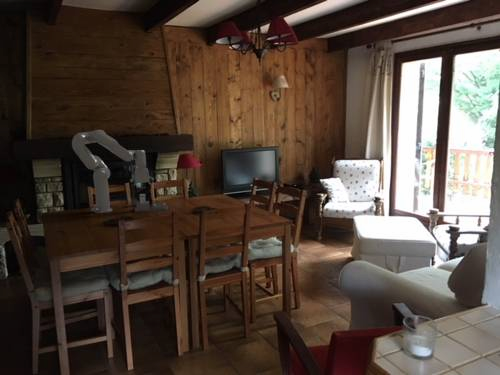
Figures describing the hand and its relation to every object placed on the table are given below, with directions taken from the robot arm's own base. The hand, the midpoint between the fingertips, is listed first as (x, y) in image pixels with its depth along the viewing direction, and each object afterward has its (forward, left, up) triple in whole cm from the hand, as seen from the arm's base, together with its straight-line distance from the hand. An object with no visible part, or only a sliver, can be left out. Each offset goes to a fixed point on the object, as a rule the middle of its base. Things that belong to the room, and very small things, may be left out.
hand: (143, 190), depth 316 cm
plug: (0, +1, -12) cm, 12 cm away
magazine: (+14, +13, -15) cm, 24 cm away
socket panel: (+4, -4, -15) cm, 16 cm away
